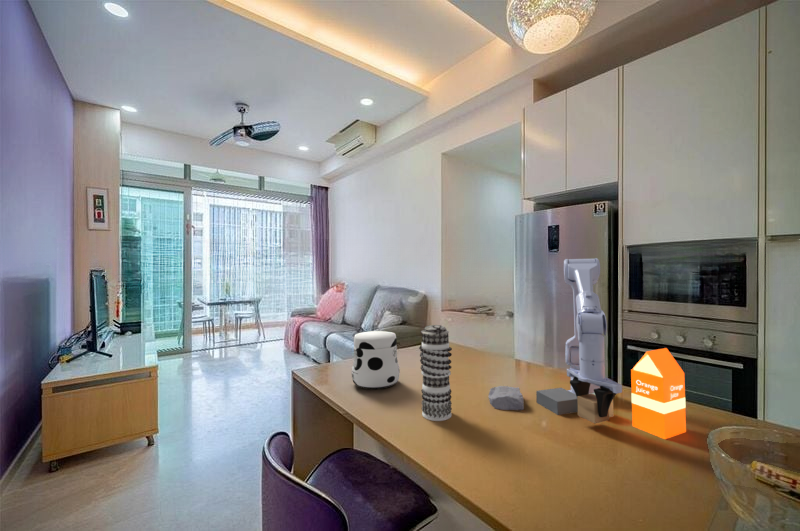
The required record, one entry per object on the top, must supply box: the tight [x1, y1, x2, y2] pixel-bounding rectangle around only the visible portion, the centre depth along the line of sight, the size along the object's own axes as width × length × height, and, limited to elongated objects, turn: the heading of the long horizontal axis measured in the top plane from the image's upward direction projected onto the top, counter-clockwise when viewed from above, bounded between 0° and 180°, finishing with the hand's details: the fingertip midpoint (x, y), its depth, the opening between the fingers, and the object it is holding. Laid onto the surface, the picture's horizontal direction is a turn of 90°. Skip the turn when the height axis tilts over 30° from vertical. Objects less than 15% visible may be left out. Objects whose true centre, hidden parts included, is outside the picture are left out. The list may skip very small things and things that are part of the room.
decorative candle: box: [418, 324, 453, 422], centre depth 96 cm, size 9×9×25 cm
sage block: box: [591, 393, 615, 418], centre depth 94 cm, size 5×5×5 cm
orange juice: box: [630, 347, 687, 440], centre depth 85 cm, size 8×9×20 cm
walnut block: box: [577, 394, 610, 424], centre depth 87 cm, size 5×5×5 cm
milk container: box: [351, 330, 401, 390], centre depth 122 cm, size 17×17×18 cm
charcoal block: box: [535, 387, 578, 416], centre depth 100 cm, size 9×9×4 cm
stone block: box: [488, 385, 525, 411], centre depth 104 cm, size 12×5×10 cm
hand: (593, 411), depth 87 cm, fingers closed on walnut block, 5 cm apart
